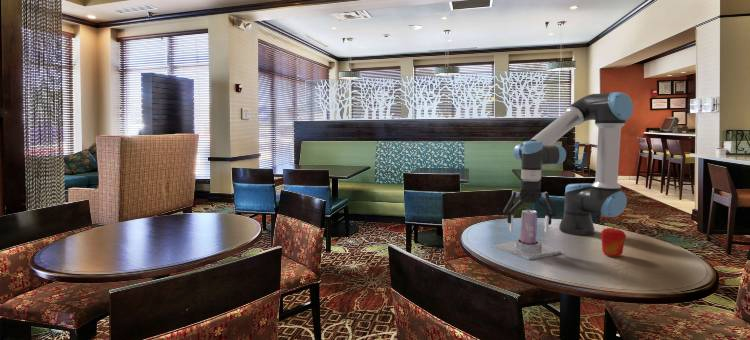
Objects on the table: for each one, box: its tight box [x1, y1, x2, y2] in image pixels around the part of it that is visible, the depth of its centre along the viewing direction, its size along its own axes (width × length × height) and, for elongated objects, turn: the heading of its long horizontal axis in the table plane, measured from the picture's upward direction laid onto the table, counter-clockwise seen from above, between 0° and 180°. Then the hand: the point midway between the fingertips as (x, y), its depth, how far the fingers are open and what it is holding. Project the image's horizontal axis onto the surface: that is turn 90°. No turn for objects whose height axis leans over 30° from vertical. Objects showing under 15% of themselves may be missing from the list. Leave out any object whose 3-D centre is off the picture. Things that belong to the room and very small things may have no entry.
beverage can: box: [520, 209, 538, 244], centre depth 167 cm, size 6×6×15 cm
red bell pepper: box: [600, 226, 627, 258], centre depth 161 cm, size 9×8×12 cm
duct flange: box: [494, 237, 563, 261], centre depth 168 cm, size 18×18×4 cm
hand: (528, 231), depth 167 cm, fingers open, 13 cm apart
